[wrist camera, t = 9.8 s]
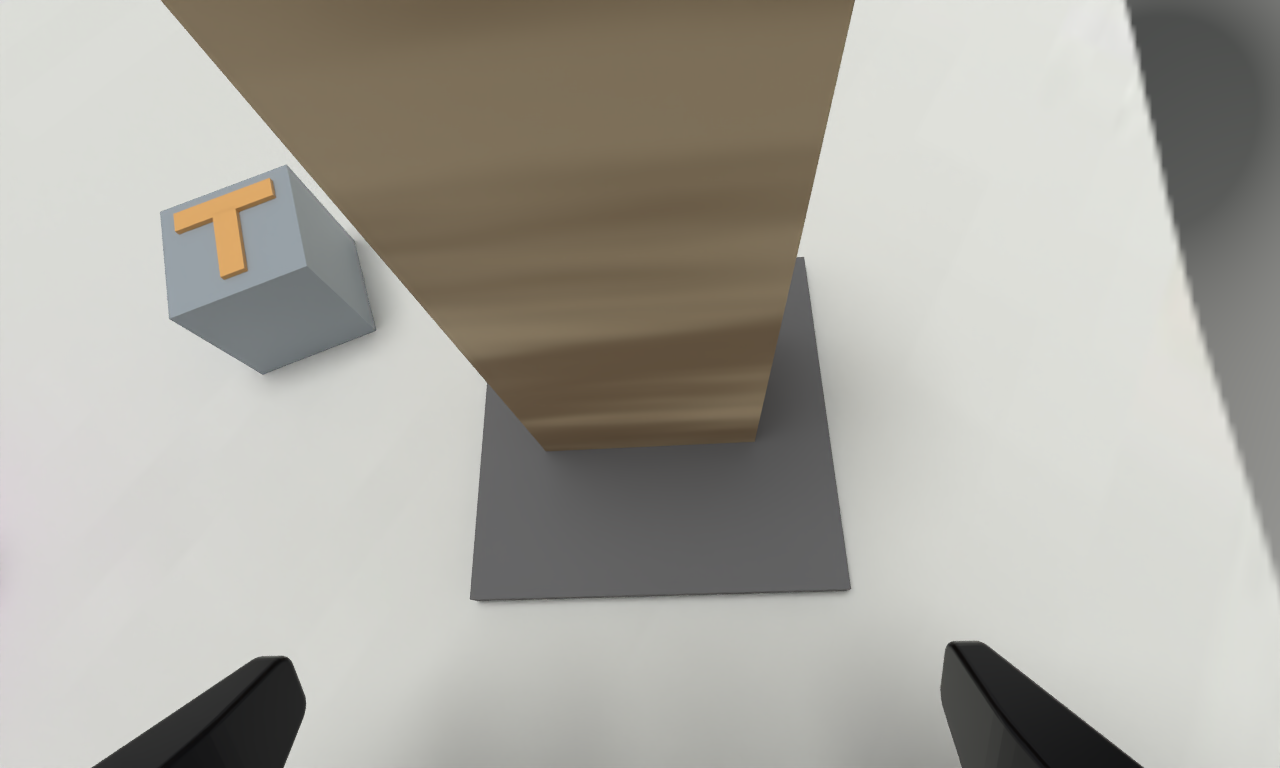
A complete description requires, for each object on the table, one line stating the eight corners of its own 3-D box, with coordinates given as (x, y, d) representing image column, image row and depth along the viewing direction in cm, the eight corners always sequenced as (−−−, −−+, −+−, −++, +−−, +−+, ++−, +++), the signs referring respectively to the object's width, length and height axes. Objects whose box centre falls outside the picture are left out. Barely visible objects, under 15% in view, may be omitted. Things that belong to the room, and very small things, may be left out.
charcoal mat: (846, 591, 17) (851, 589, 16) (477, 600, 17) (469, 599, 17) (801, 267, 20) (803, 257, 20) (501, 288, 21) (495, 279, 21)
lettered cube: (376, 331, 21) (303, 262, 17) (263, 375, 21) (165, 315, 17) (355, 241, 23) (283, 161, 19) (249, 282, 23) (155, 208, 19)
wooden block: (754, 441, 18) (877, -95, 5) (545, 451, 18) (152, -10, 5) (744, 330, 19) (819, -320, 6) (550, 343, 20) (244, -234, 7)
